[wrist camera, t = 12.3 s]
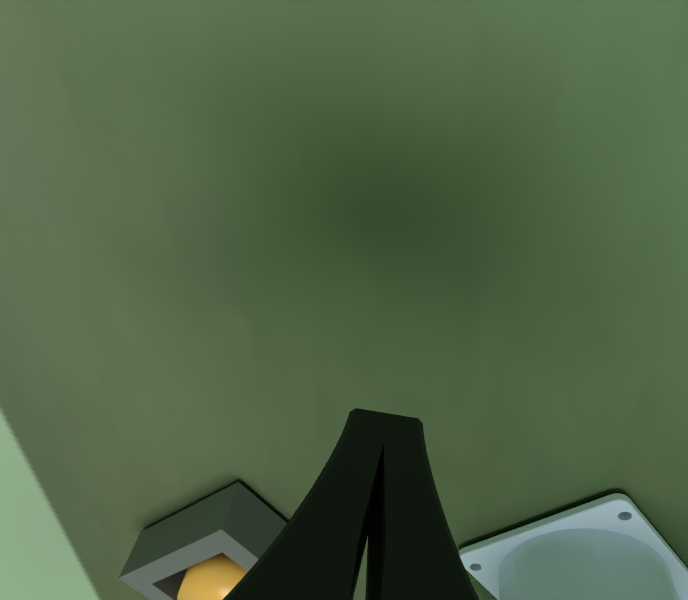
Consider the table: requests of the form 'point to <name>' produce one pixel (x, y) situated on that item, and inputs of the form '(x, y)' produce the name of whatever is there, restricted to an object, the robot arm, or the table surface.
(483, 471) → the table surface
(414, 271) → the table surface
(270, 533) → the button base
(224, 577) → the button
